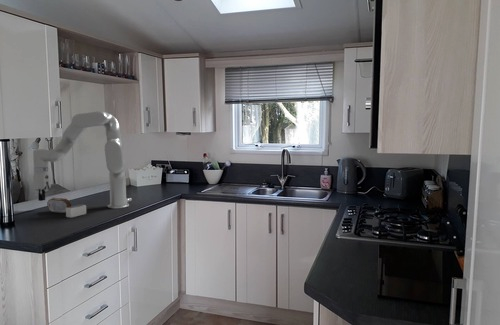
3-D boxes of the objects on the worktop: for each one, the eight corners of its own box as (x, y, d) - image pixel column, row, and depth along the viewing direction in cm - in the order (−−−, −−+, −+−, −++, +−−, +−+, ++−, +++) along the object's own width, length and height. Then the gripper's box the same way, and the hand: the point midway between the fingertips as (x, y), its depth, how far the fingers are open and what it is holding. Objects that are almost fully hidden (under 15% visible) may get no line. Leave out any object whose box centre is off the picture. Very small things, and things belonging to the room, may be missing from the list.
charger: (81, 212, 212) (81, 203, 211) (86, 213, 210) (85, 204, 209) (66, 216, 203) (65, 207, 202) (71, 217, 201) (70, 208, 200)
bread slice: (71, 212, 212) (71, 198, 211) (67, 214, 209) (67, 199, 208) (50, 211, 216) (50, 197, 215) (46, 212, 213) (45, 198, 212)
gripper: (55, 170, 216) (56, 200, 218) (38, 168, 223) (39, 197, 225) (43, 171, 210) (44, 202, 211) (26, 169, 216) (27, 200, 218)
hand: (41, 200), depth 218 cm, fingers closed
